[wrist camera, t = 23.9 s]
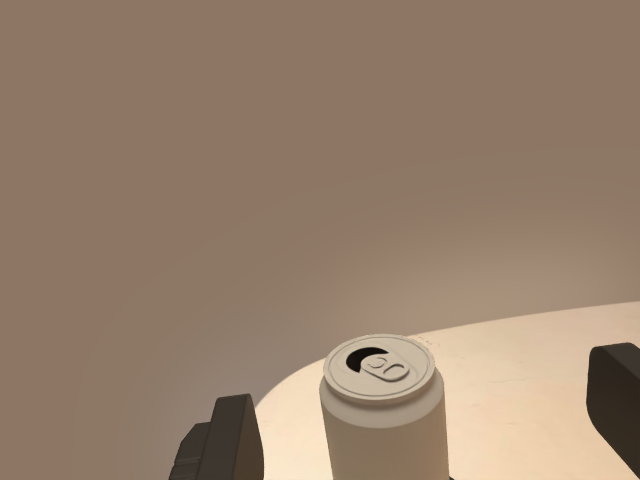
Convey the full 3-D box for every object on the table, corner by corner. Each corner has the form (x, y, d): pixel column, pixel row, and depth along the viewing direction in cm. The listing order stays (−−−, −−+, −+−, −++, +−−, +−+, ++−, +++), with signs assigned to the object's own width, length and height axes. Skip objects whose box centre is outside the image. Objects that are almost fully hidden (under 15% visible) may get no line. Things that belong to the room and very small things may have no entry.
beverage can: (391, 472, 31) (374, 317, 27) (476, 533, 26) (468, 354, 22) (321, 535, 27) (290, 366, 23) (404, 620, 22) (381, 424, 19)
